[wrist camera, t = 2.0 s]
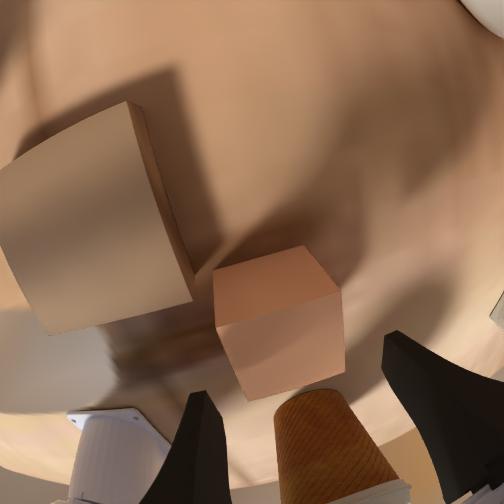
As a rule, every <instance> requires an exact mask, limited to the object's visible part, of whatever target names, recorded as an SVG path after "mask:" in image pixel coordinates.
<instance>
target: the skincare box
mask: <svg viewBox="0 0 504 504" xmlns="http://www.w3.org/2000/svg"><path fill="white" fill-rule="evenodd" d="M490 319H491V320H492V321H493V322H494V323H495V324H497V325H498V326H499V327H500V328H501V329H502V330H503V331H504V293H503V295H502V297H501V299H500V300H499V302H498V304H497V305H496V307H495V309H494V310H493V312H492V314H491V315H490Z"/></svg>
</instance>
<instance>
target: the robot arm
mask: <svg viewBox="0 0 504 504" xmlns="http://www.w3.org/2000/svg"><path fill="white" fill-rule="evenodd" d="M381 368H382V371H383V373H384V375H385V377H386V379H387V381H388V383H389V385H390V387H391V389H392V390H393V392H394V393H395V395H396V396H397V398H398V399H399V401H400V402H401V404H402V405H403V407H404V408H405V410H406V411H407V413H408V414H409V416H410V417H411V419H412V420H413V422H414V423H415V425H416V427H417V428H418V430H419V432H420V434H421V436H422V439H423V441H424V443H425V445H426V447H427V450H428V452H429V455H430V457H431V459H432V462H433V464H434V467H435V470H436V473H437V476H438V479H439V483H440V486H441V489H442V494H443V498H444V501H445V503H446V504H451V503H452V502H454V501H456V500H457V499H458V498H460V497H462V496H463V495H465V494H466V493H468V492H469V491H470V490H471V492H472V494H473V495H472V496H471V497H469V498H468V499H467V500H465V501H464V502H462V503H461V504H504V382H501V381H497V380H493V379H490V378H487V377H484V376H481V375H479V374H476V373H474V372H471V371H469V370H466V369H464V368H462V367H460V366H458V365H456V364H454V363H452V362H450V361H448V360H446V359H444V358H442V357H441V356H439V355H437V354H435V353H434V352H432V351H430V350H429V349H427V348H425V347H424V346H422V345H420V344H419V343H417V342H416V341H414V340H412V339H411V338H409V337H408V336H406V335H404V334H403V333H401V332H400V331H398V330H396V331H394V332H392V333H389V334H387V335H385V336H384V347H383V357H382V366H381ZM66 417H67V418H68V419H69V420H70V421H71V422H72V423H73V424H74V425H75V426H76V427H77V428H78V429H80V430H81V431H82V433H81V437H80V441H79V445H78V449H77V453H76V458H75V462H74V467H73V472H72V477H71V482H70V487H69V493H68V500H65V501H61V500H57V501H56V502H52V503H51V504H232V501H231V496H230V489H229V478H228V462H227V445H226V436H225V430H224V424H223V419H222V416H221V415H220V413H219V411H218V410H217V408H216V407H215V405H214V403H213V402H212V400H211V398H210V397H209V395H208V393H207V392H206V390H205V391H199V392H194V393H191V394H190V395H189V398H188V401H187V404H186V407H185V411H184V414H183V417H182V419H181V422H180V425H179V428H178V430H177V433H176V436H175V438H174V441H173V443H172V446H171V445H170V444H169V443H168V442H167V441H166V440H165V439H164V438H163V437H162V436H161V435H160V434H159V433H158V432H157V430H156V429H155V428H154V427H153V426H152V425H151V424H150V423H149V422H148V421H147V420H146V419H145V417H144V416H143V415H142V414H141V413H140V412H139V411H138V410H137V409H134V408H127V409H115V410H99V411H68V412H67V413H66Z"/></svg>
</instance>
